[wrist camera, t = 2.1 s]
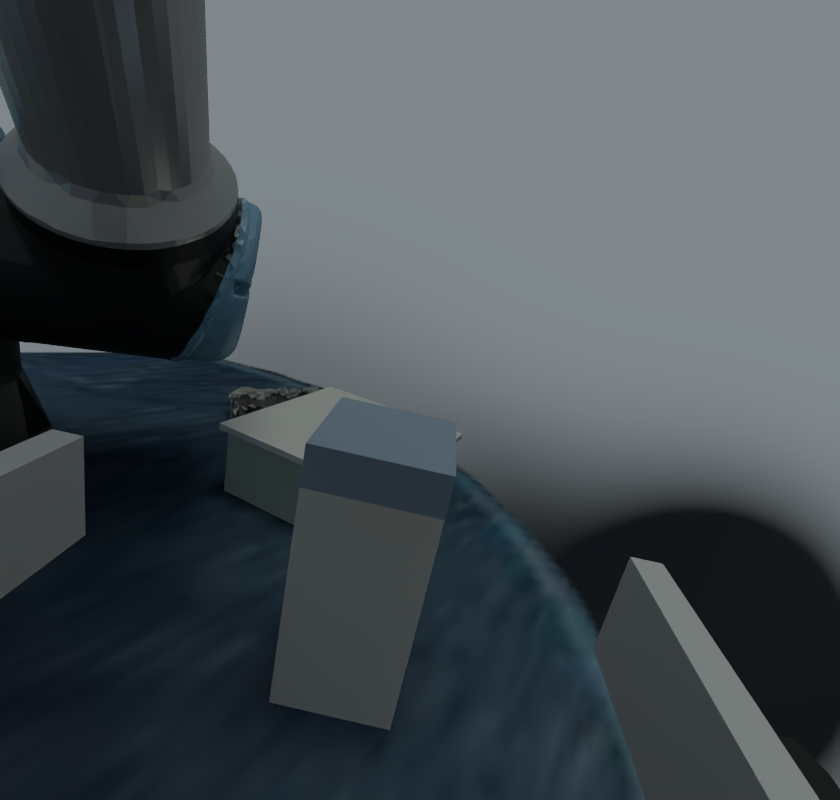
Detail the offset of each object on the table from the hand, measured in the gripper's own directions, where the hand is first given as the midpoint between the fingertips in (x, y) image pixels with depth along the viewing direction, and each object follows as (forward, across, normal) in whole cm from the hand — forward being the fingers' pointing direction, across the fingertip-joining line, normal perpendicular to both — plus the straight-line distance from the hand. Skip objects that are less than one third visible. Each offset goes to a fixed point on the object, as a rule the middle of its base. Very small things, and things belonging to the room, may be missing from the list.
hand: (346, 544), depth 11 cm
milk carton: (+10, 0, -15) cm, 18 cm away
